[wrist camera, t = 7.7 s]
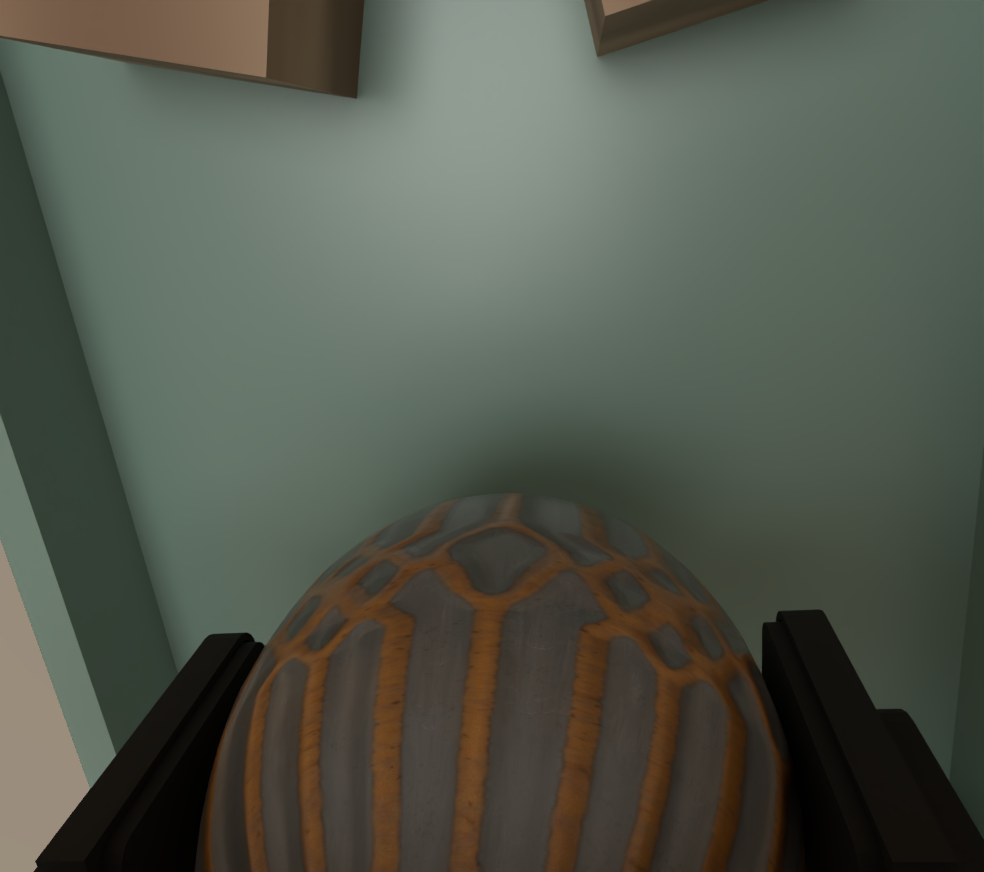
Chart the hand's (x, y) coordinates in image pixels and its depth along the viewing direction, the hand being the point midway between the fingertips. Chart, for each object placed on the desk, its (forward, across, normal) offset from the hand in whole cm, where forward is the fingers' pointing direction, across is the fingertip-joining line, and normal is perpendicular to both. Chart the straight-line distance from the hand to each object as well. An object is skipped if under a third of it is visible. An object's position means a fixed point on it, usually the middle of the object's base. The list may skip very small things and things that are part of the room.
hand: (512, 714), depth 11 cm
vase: (+3, 0, 0) cm, 3 cm away
